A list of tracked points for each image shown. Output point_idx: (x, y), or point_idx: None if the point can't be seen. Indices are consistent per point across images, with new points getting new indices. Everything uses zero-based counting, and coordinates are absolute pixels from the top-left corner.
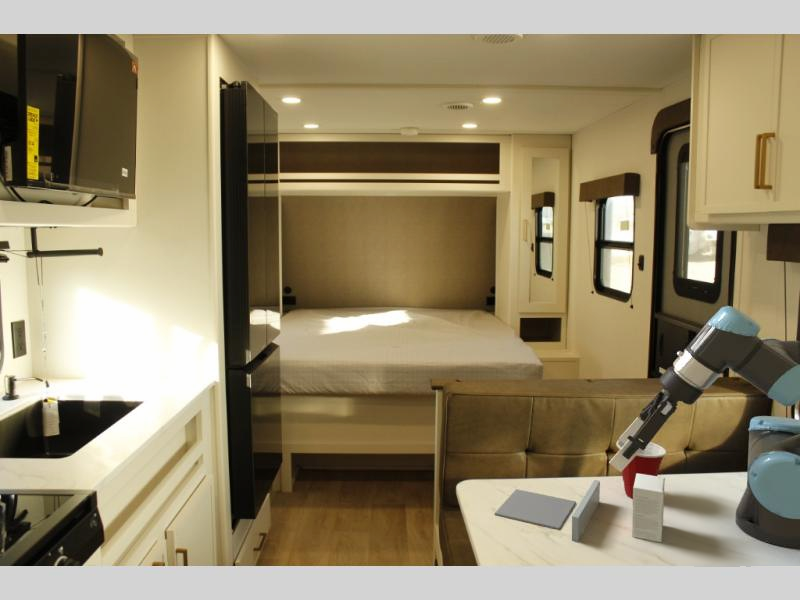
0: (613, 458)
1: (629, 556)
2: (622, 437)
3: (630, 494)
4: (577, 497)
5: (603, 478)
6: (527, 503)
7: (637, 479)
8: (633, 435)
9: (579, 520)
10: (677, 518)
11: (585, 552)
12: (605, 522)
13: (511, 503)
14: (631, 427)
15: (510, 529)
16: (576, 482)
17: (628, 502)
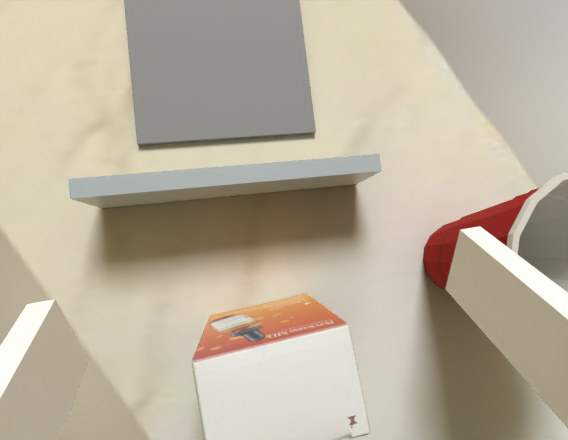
0: (6, 342)
1: (102, 342)
2: (475, 252)
3: (428, 245)
4: (349, 127)
5: (498, 149)
6: (229, 26)
7: (284, 349)
8: (508, 326)
9: (95, 199)
10: (378, 380)
11: (57, 242)
12: (250, 233)
13: None
14: (557, 327)
15: (67, 37)
16: (435, 96)
17: (397, 248)
